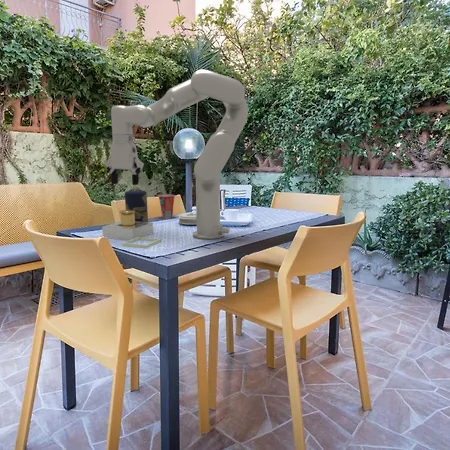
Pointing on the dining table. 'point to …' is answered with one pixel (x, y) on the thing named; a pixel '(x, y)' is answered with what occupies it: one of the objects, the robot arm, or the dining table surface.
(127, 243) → the green square frame
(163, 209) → the cup
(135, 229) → the housing
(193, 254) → the dining table surface
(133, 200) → the canister
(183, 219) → the lid
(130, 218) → the gold metal cylinder
